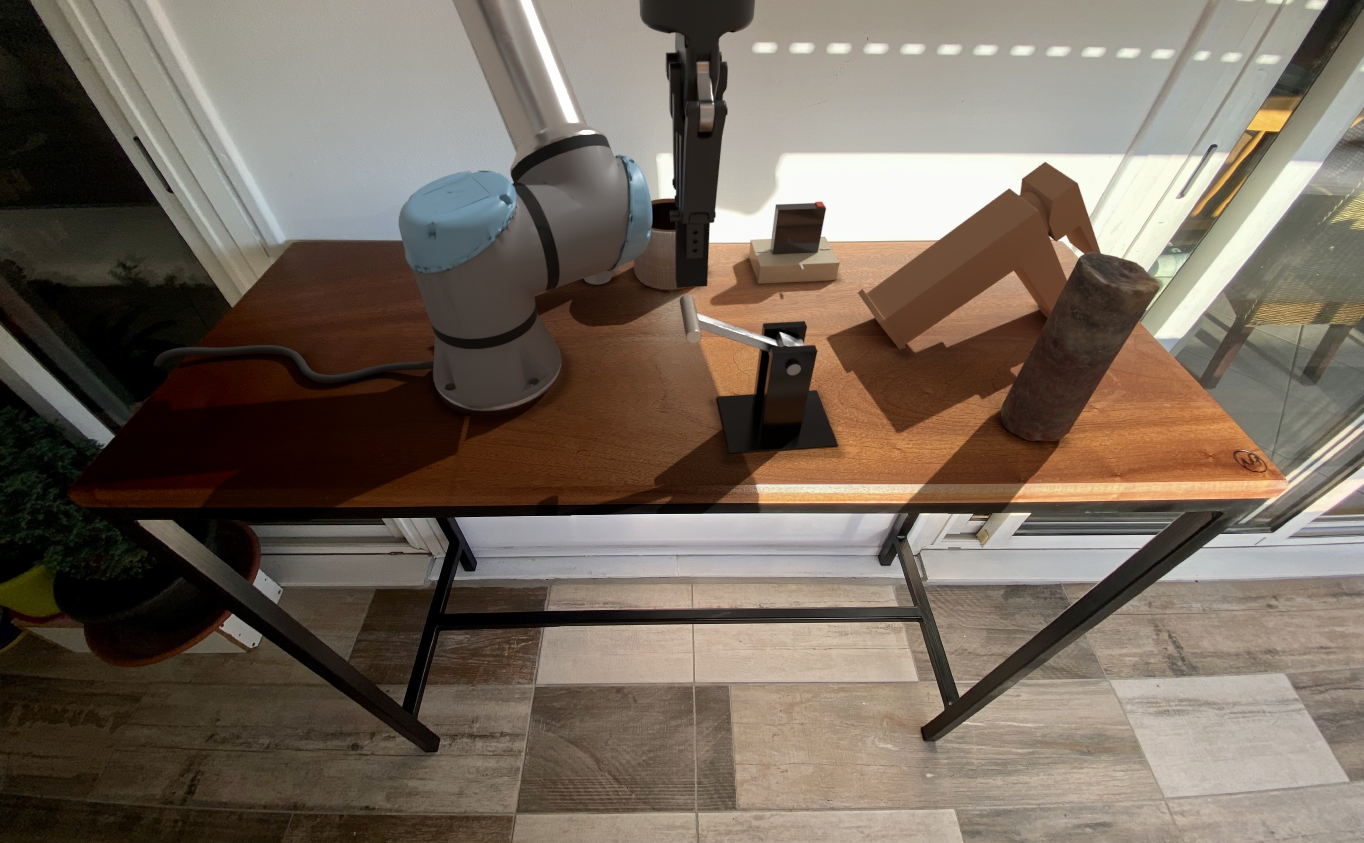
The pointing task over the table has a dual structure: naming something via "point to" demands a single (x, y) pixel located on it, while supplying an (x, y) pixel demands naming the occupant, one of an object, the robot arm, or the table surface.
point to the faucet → (988, 256)
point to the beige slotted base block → (792, 263)
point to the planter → (659, 249)
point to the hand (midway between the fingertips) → (691, 282)
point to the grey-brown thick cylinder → (1077, 345)
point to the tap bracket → (778, 401)
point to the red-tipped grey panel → (797, 228)
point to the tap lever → (727, 329)
